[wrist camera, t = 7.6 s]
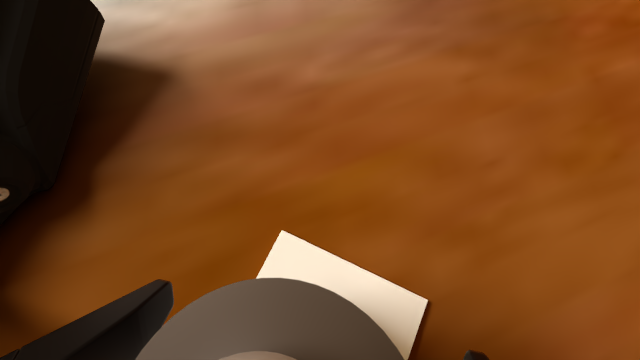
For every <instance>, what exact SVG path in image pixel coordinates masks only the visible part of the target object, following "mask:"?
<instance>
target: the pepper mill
mask: <svg viewBox="0 0 640 360" xmlns="http://www.w3.org/2000/svg"><path fill="white" fill-rule="evenodd" d="M135 360H404V358H403V357H402V355H401V353H400V352H399V350H398V349H397V347H396V346H395V345H394V343H393V342H392V341H391V340H390V338H389V337H388V336H387V334H386V333H385V332H384V331H383V330H382V329H381V328H380V327H379V326H378V325H377V324H376V323H375V322H374V321H373V320H372V319H371V318H370V317H369V316H368V315H367V314H366V313H365V312H363V311H362V310H361V309H360V308H358V307H357V306H356V305H354V304H353V303H352V302H350V301H348V300H347V299H345V298H343V297H342V296H340V295H338V294H337V293H335V292H333V291H330V290H328V289H326V288H323V287H321V286H318V285H316V284H312V283H308V282H304V281H301V280H295V279H287V278H258V279H251V280H245V281H240V282H237V283H233V284H230V285H227V286H224V287H221V288H219V289H217V290H214V291H212V292H210V293H208V294H206V295H204V296H202V297H201V298H199V299H197V300H195V301H194V302H192V303H190V304H189V305H187V306H186V307H185V308H184V309H182V310H181V311H180V312H178V313H177V314H176V315H174V316H173V317H172V318H171V319H170V320H169V321H168V322H167V323H166V324H165V325H164V326H163V327H162V328H160V329H159V330H158V331H157V332H156V334H155V335H154V336H153V337H152V338H151V339H150V341H149V342H148V343H147V344H146V345H145V347H144V348H143V349H142V350H141V352H140V353H139V355H138V356H137V358H136V359H135Z"/></svg>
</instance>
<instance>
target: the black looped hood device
mask: <svg viewBox="0 0 640 360" xmlns="http://www.w3.org/2000/svg"><path fill="white" fill-rule="evenodd" d="M104 21H105V20H104V18H103V16H102V15H101V13H100V12H99V11H98V9H97V7H96V6H95V5H94V4H93V3H92V2H91V1H90V0H0V224H1V223H2V222H3V221H4V220H5V219H6V218H7V217H8V216H9V215H10V214H11V213H12V212H13V211H14V210H15V209H16V208H17V207H18V206H19V205H20V204H21V203H22V202H24V201H25V200H26V199H27V197H28V196H30V195H32V194H33V193H35V192H40V191H45V190H48V189H49V188H50V187H51V186H53V185H54V182H55V179H56V176H57V172H58V169H59V166H60V163H61V160H62V156H63V153H64V150H65V147H66V143H67V140H68V137H69V134H70V131H71V127H72V124H73V121H74V118H75V115H76V111H77V108H78V105H79V102H80V98H81V95H82V92H83V89H84V86H85V82H86V79H87V76H88V73H89V70H90V66H91V63H92V60H93V57H94V53H95V50H96V47H97V44H98V41H99V37H100V34H101V31H102V28H103V25H104Z"/></svg>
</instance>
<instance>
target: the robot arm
mask: <svg viewBox="0 0 640 360" xmlns="http://www.w3.org/2000/svg"><path fill="white" fill-rule="evenodd" d="M173 304H174V298H173V288H172V283H171V282H169V281H165V280H161V279H158V280H155V281H153V282H151V283H149V284H147V285H145V286H143V287H141V288H139V289H137V290H135V291H133V292H131V293H129V294H127V295H125V296H123V297H121V298H119V299H117V300H115V301H113V302H111V303H109V304H107V305H105V306H103V307H101V308H99V309H97V310H95V311H93V312H91V313H89V314H87V315H85V316H83V317H81V318H79V319H77V320H75V321H73V322H71V323H69V324H67V325H65V326H63V327H61V328H59V329H57V330H55V331H53V332H51V333H49V334H47V335H45V336H43V337H41V338H39V339H37V340H35V341H33V342H31V343H29V344H27V345H25V346H23V347H22V348H21V349H17V350H15V351H13V352H11V353H9V354H7V355H5V356H3V357H1V358H0V360H135V359H136V358H137V356H138V355H139V353H140V352H141V350H142V349H143V348H144V347H145V345H146V344H147V343H148V342H149V341H150V339H151V338H152V337H153V336H154V335H155V334H156V332H157V331H158V330H159V329H160V328H161V327H162V325H163V324H164V322H165V320H166V318H167V316H168V315H169V313H170V311H171V309H172V307H173ZM463 360H489V358H488V357H487V356H486V355H485V354H484V353H482V352H478V351H473V350H468V351H467V352H466V354H465V356H464V359H463Z"/></svg>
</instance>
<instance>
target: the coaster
mask: <svg viewBox="0 0 640 360" xmlns="http://www.w3.org/2000/svg"><path fill="white" fill-rule="evenodd" d="M258 278H287V279H295V280H301V281H304V282H308V283H312V284H316V285H318V286H321V287H323V288H326V289H328V290H330V291H333V292H335V293H337V294H338V295H340V296H342V297H343V298H345V299H347V300H348V301H350V302H352V303H353V304H354V305H356V306H357V307H358V308H360V309H361V310H362V311H363V312H365V313H366V314H367V315H368V316H369V317H370V318H371V319H372V320H373V321H374V322H375V323H376V324H377V325H378V326H379V327H380V328H381V329H382V330H383V331H384V332H385V333H386V334H387V336H388V337H389V338H390V340H391V341H392V342H393V343H394V345H395V346H396V347H397V349H398V350H399V352H400V353H401V355H402V357H403V358H404V360H408V357H409V354H410V351H411V348H412V346H413V343H414V340H415V337H416V334H417V331H418V328H419V325H420V322H421V319H422V316H423V313H424V310H425V307H426V304H427V301H428V300H427V299H425V298H422V297H420V296H418V295H416V294H414V293H412V292H410V291H408V290H406V289H404V288H402V287H400V286H397V285H395V284H393V283H391V282H389V281H387V280H385V279H383V278H381V277H379V276H377V275H375V274H372V273H370V272H368V271H366V270H364V269H362V268H360V267H358V266H356V265H354V264H352V263H350V262H348V261H345V260H343V259H341V258H339V257H337V256H335V255H333V254H331V253H329V252H327V251H325V250H323V249H320V248H318V247H316V246H314V245H312V244H310V243H308V242H306V241H304V240H302V239H300V238H298V237H295V236H293V235H291V234H289V233H287V232H285V231H283V230H282V231H281V233H280V234H279V236H278V238H277V240H276V242H275V244H274V246H273V248H272V250H271V251H270V253H269V255H268V257H267V259H266V261H265V263H264V265H263V267H262V269H261V270H260V272H259V274H258V276H257V278H256V279H258Z"/></svg>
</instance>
